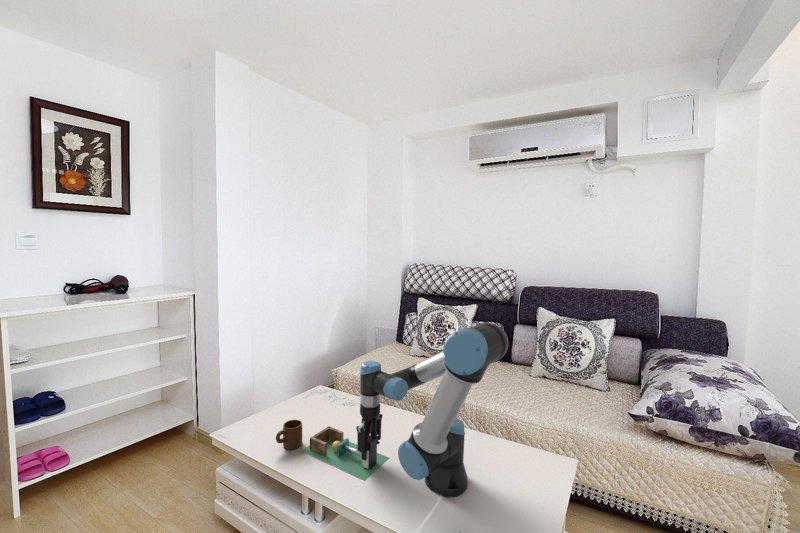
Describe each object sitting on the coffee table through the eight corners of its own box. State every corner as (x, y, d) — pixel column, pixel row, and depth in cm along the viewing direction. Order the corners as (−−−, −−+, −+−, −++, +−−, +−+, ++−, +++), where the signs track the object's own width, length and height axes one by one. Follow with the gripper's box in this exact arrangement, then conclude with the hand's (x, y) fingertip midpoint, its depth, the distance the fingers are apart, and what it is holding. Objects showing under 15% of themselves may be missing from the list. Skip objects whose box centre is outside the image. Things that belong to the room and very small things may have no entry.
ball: (344, 450, 144) (344, 440, 144) (337, 455, 141) (337, 445, 141) (336, 447, 146) (336, 437, 146) (329, 451, 143) (329, 442, 143)
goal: (343, 443, 149) (343, 431, 149) (324, 456, 140) (324, 444, 139) (328, 437, 153) (328, 426, 153) (309, 449, 144) (309, 438, 144)
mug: (282, 459, 138) (282, 435, 138) (269, 452, 142) (269, 430, 142) (306, 444, 149) (306, 422, 148) (293, 438, 153) (293, 417, 152)
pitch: (389, 459, 140) (389, 457, 140) (364, 482, 126) (364, 480, 126) (328, 434, 157) (328, 433, 157) (300, 452, 143) (300, 451, 143)
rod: (378, 462, 137) (378, 436, 136) (368, 470, 132) (369, 444, 131) (346, 448, 145) (346, 424, 144) (336, 456, 140) (336, 431, 139)
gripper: (375, 393, 143) (374, 449, 144) (347, 409, 128) (346, 472, 130) (391, 397, 139) (390, 455, 140) (364, 415, 124) (363, 479, 126)
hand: (369, 463), depth 135 cm, fingers closed on rod, 4 cm apart
